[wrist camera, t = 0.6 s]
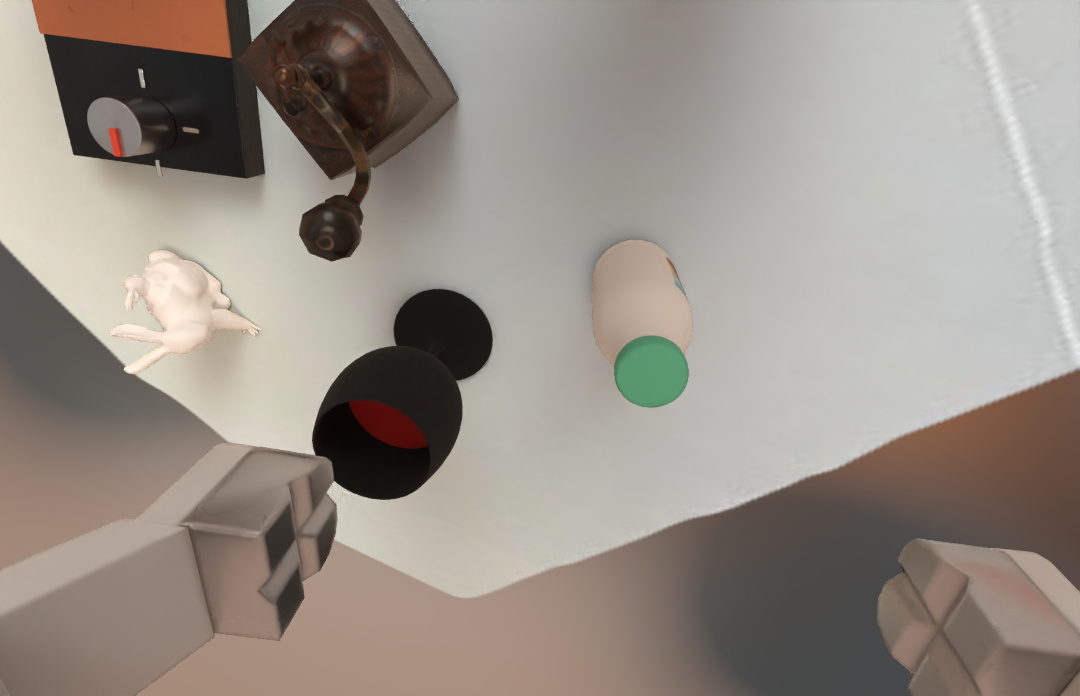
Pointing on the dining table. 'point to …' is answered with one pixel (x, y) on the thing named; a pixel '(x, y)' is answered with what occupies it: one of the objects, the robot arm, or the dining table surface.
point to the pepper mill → (347, 98)
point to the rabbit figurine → (177, 308)
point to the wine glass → (403, 398)
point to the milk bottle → (642, 321)
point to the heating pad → (141, 23)
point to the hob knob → (131, 125)
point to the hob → (168, 98)
